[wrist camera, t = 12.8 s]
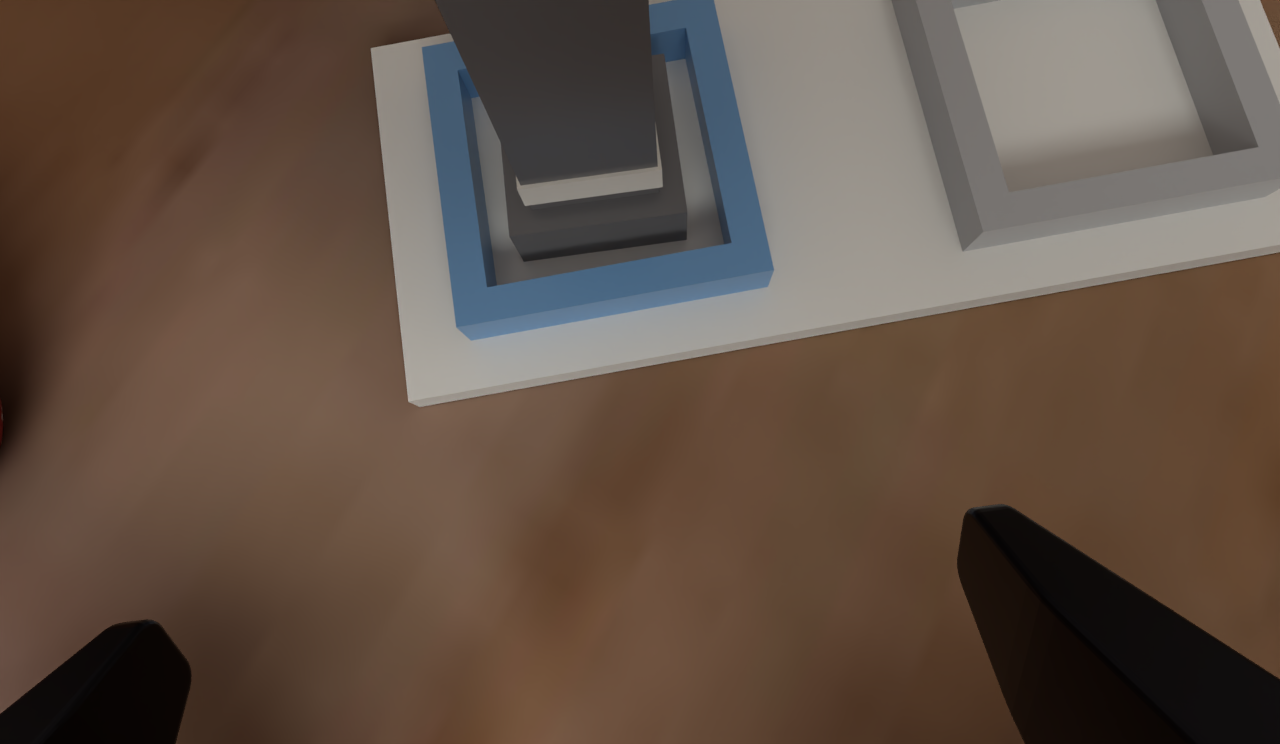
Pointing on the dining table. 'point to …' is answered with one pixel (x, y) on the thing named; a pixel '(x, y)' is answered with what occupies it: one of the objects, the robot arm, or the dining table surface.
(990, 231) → the board
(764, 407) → the dining table surface
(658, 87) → the plug
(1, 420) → the christmas ornament
